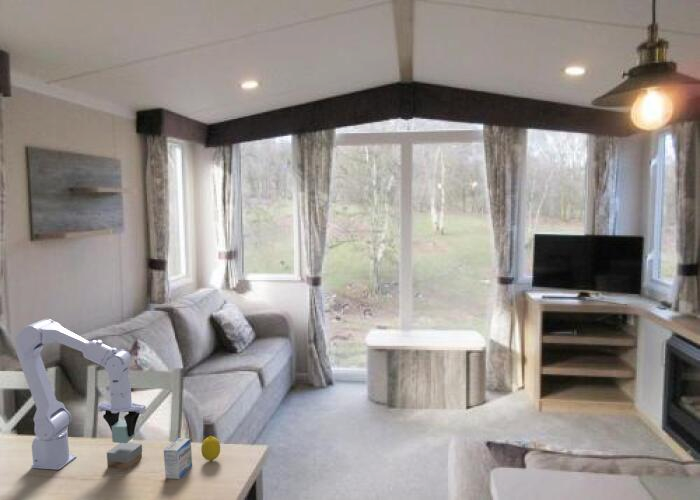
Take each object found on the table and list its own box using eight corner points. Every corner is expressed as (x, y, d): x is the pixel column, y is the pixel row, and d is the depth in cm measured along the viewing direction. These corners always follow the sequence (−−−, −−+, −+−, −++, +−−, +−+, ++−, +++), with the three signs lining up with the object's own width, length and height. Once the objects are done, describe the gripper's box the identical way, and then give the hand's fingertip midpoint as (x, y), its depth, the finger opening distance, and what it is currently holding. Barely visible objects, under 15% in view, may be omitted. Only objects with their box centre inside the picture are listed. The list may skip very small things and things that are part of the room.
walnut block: (107, 468, 158) (107, 460, 157) (121, 457, 165) (120, 449, 164) (129, 470, 157) (128, 462, 156) (142, 458, 164) (141, 451, 163)
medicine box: (179, 479, 150) (177, 451, 149) (164, 478, 151) (163, 449, 150) (192, 465, 158) (191, 438, 157) (179, 464, 159) (177, 437, 158)
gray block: (107, 460, 158) (106, 452, 157) (122, 449, 164) (122, 441, 164) (127, 463, 156) (126, 455, 156) (142, 451, 163) (141, 444, 162)
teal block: (112, 442, 158) (111, 426, 157) (121, 435, 162) (120, 419, 162) (126, 443, 157) (125, 427, 156) (134, 436, 161) (133, 420, 161)
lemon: (198, 463, 159) (197, 438, 158) (209, 455, 164) (208, 430, 163) (213, 467, 157) (212, 441, 156) (224, 458, 162) (223, 433, 161)
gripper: (90, 395, 155) (93, 439, 157) (135, 397, 153) (138, 442, 154) (104, 386, 162) (107, 428, 164) (148, 388, 160) (151, 431, 161)
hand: (123, 434), depth 160 cm, fingers closed on teal block, 4 cm apart
